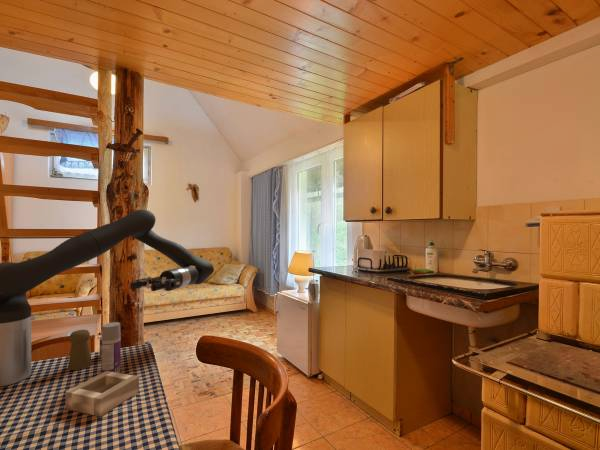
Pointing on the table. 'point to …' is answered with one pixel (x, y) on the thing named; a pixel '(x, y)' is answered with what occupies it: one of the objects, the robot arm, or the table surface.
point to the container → (111, 347)
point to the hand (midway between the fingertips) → (141, 287)
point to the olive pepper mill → (79, 350)
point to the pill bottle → (101, 345)
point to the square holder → (92, 398)
